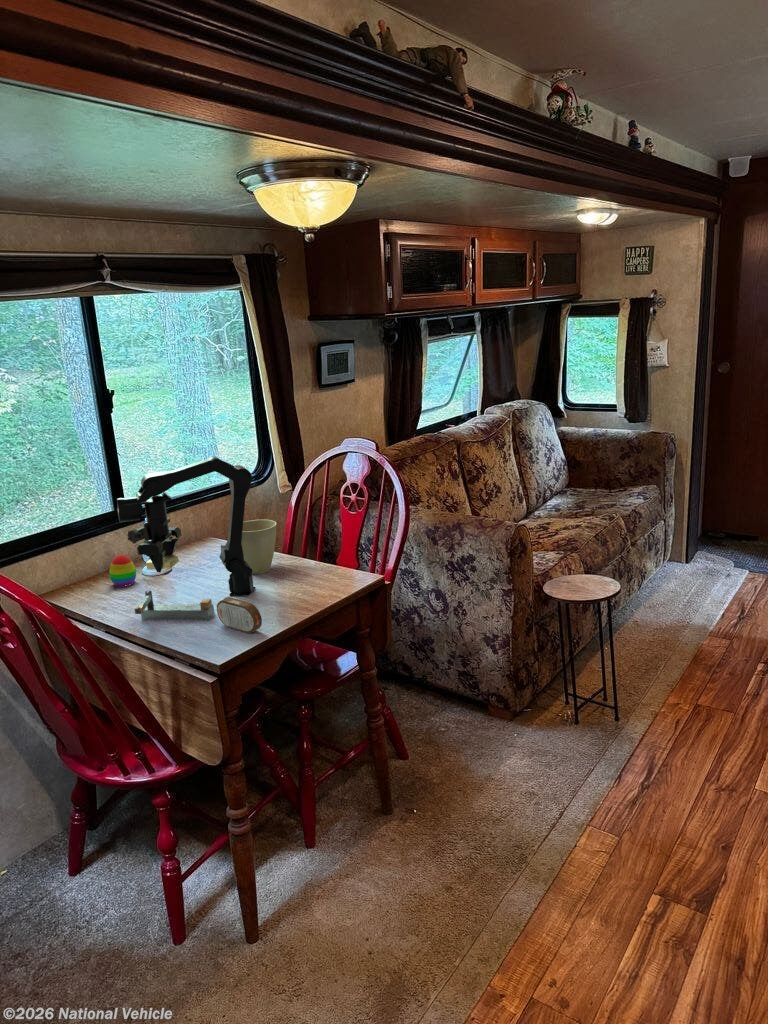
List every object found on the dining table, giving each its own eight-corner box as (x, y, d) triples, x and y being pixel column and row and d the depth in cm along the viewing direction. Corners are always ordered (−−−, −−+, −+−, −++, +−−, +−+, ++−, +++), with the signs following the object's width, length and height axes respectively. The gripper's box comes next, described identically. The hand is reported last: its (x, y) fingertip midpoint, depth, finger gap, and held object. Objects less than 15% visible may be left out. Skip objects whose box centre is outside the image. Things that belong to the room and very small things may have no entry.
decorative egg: (107, 589, 228) (103, 559, 226) (116, 580, 236) (111, 552, 233) (133, 587, 228) (128, 558, 226) (140, 578, 236) (136, 550, 234)
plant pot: (286, 563, 244) (281, 518, 240) (273, 578, 230) (268, 531, 226) (244, 563, 246) (239, 519, 242) (229, 578, 232) (224, 531, 228)
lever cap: (178, 561, 210) (177, 554, 210) (170, 568, 204) (169, 562, 203) (156, 561, 211) (155, 555, 210) (147, 569, 205) (146, 562, 204)
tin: (264, 632, 189) (261, 603, 187) (255, 637, 186) (252, 607, 184) (225, 621, 197) (221, 593, 195) (216, 625, 195) (213, 597, 193)
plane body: (214, 613, 203) (212, 597, 202) (208, 620, 199) (206, 603, 198) (148, 613, 206) (146, 597, 205) (141, 620, 202) (139, 603, 200)
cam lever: (143, 621, 192) (140, 606, 191) (136, 622, 192) (133, 606, 191) (154, 605, 203) (152, 590, 202) (148, 605, 203) (145, 590, 202)
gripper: (143, 509, 213) (150, 558, 217) (115, 526, 195) (123, 579, 199) (178, 508, 212) (185, 557, 216) (154, 525, 194) (161, 579, 198)
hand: (163, 568), depth 208 cm, fingers closed on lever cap, 6 cm apart
